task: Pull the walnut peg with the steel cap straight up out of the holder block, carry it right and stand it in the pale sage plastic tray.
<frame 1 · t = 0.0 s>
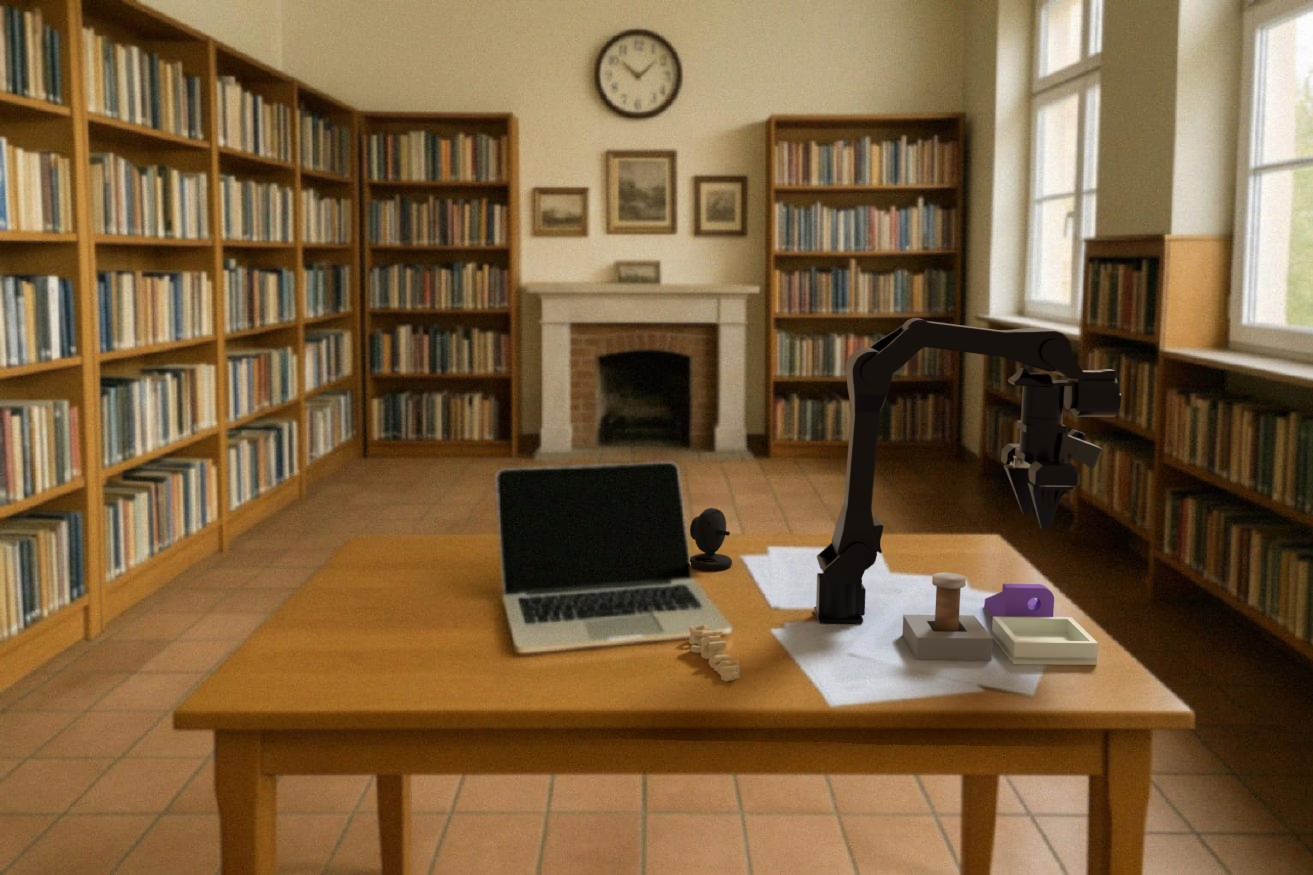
hand: (1035, 522, 179), 15 cm above the table, tool pointing down, fingers open, 9 cm apart
peg: (947, 612, 168), in the holder
webcam: (710, 566, 210), on the table
decorative script: (714, 663, 163), on the table
tray: (1042, 650, 168), on the table
holder: (945, 647, 169), on the table
bracket: (1017, 622, 182), on the table
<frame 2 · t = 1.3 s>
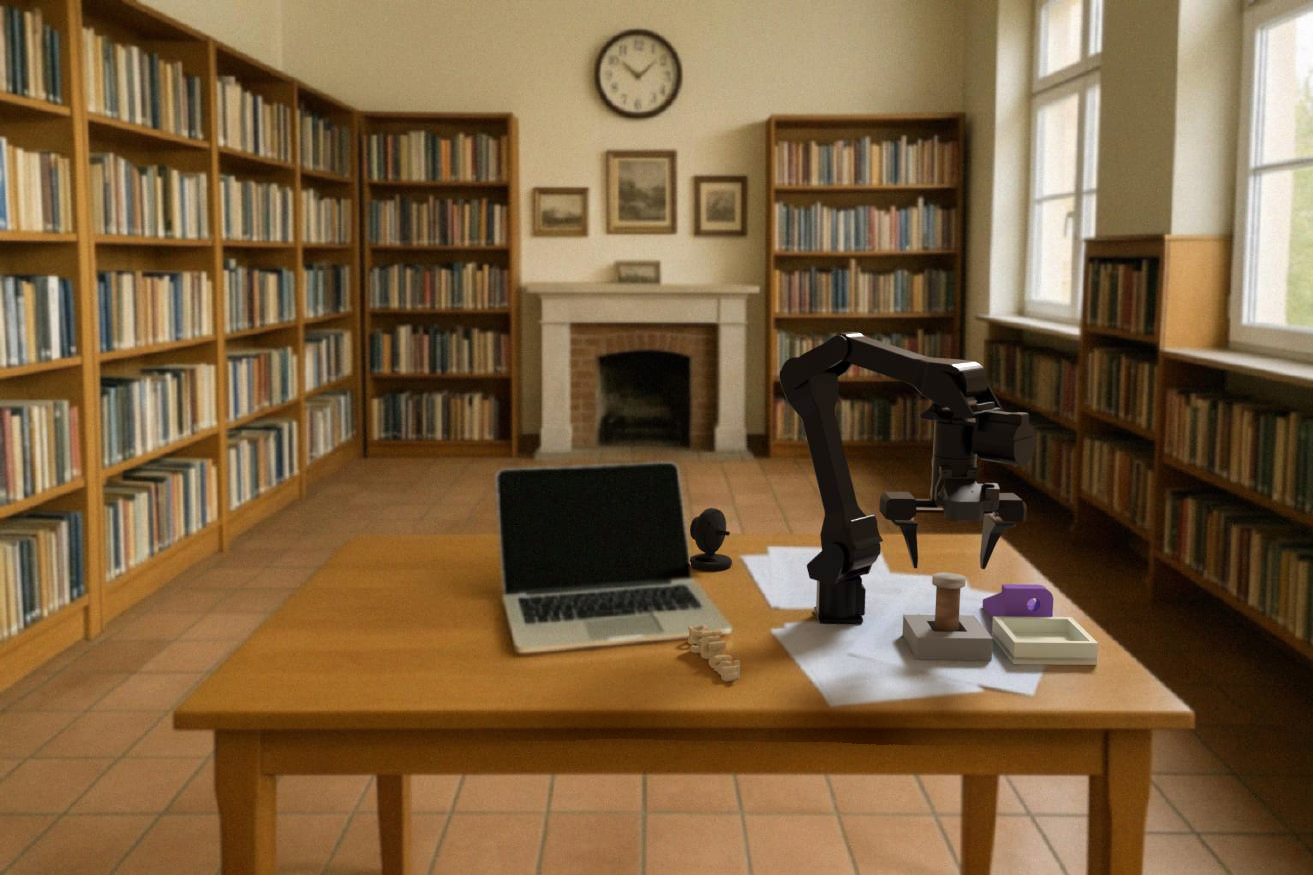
hand: (948, 568, 167), 11 cm above the table, tool pointing down, fingers open, 9 cm apart
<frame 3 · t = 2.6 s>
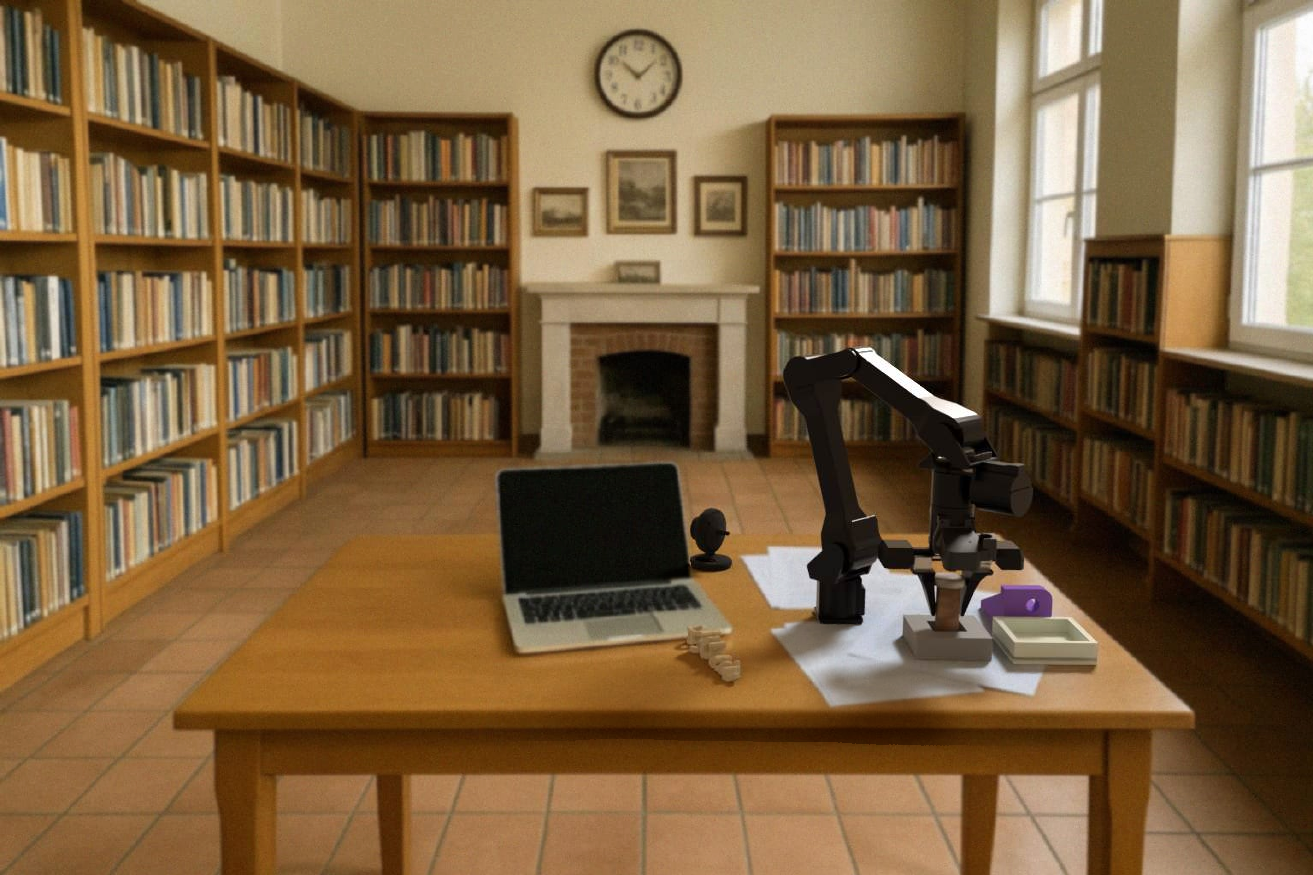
hand: (947, 615, 168), 5 cm above the table, tool pointing down, fingers closed on peg, 4 cm apart
peg: (947, 612, 168), in the holder, touching gripper
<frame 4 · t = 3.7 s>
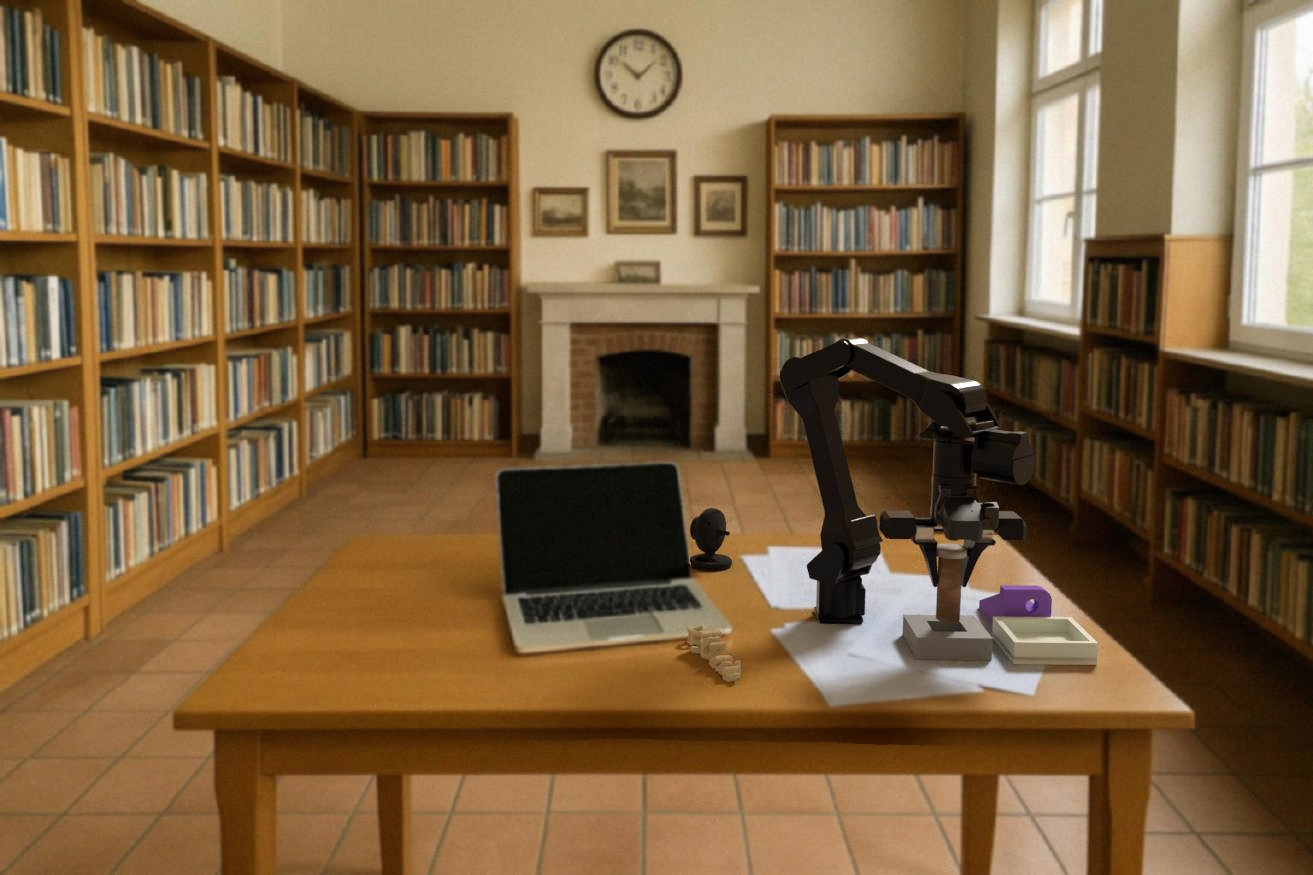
hand: (949, 586, 167), 9 cm above the table, tool pointing down, fingers closed on peg, 4 cm apart
peg: (949, 583, 167), point 9 cm above the table, touching gripper
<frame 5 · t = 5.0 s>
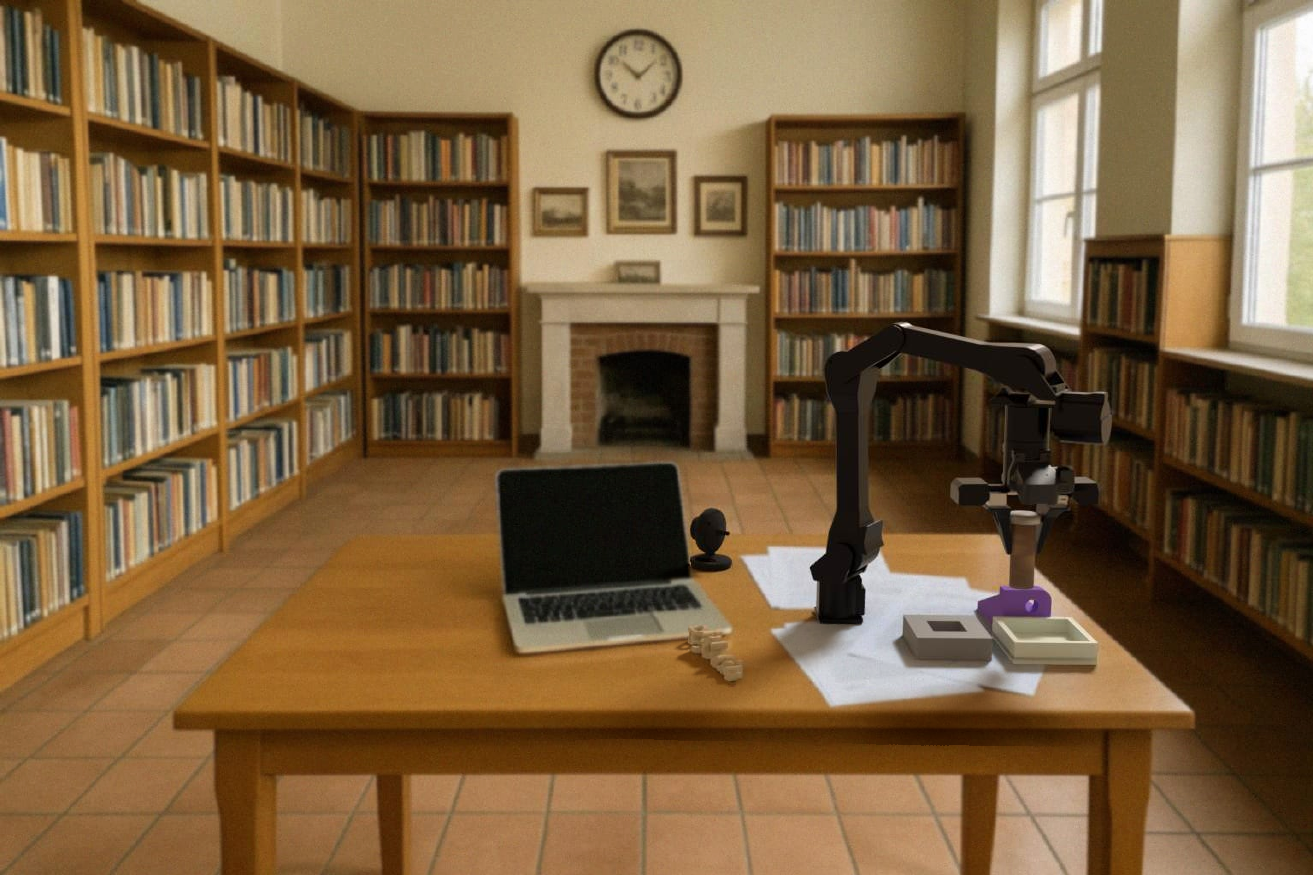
hand: (1022, 553, 165), 14 cm above the table, tool pointing down, fingers closed on peg, 4 cm apart
peg: (1022, 550, 165), point 14 cm above the table, touching gripper
when the fingers open (6 cm above the table, at t = 7.1 s): peg stays where it is, resting on tray.
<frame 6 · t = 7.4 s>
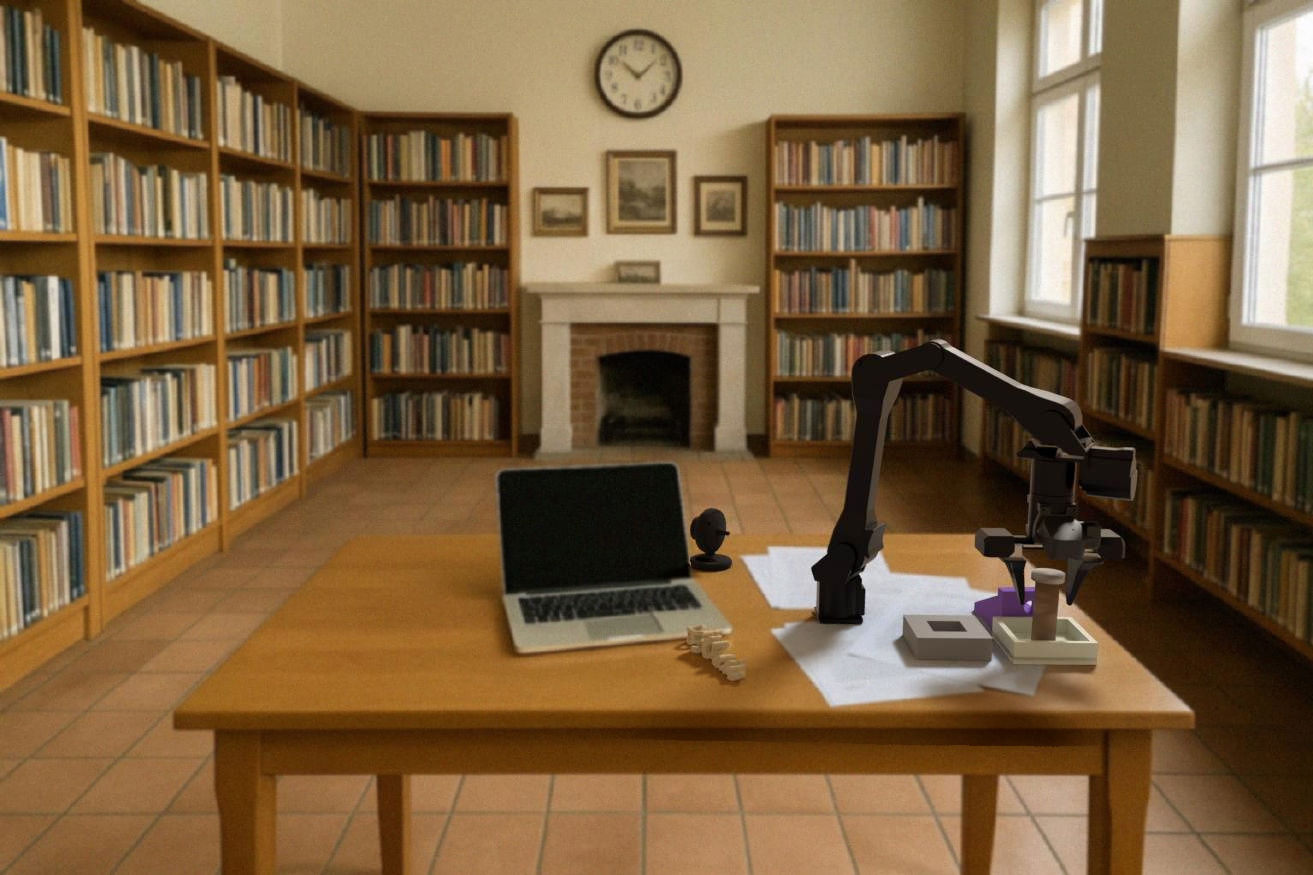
hand: (1045, 604, 167), 6 cm above the table, tool pointing down, fingers open, 6 cm apart
peg: (1045, 608, 167), in the tray, point 6 cm above the table
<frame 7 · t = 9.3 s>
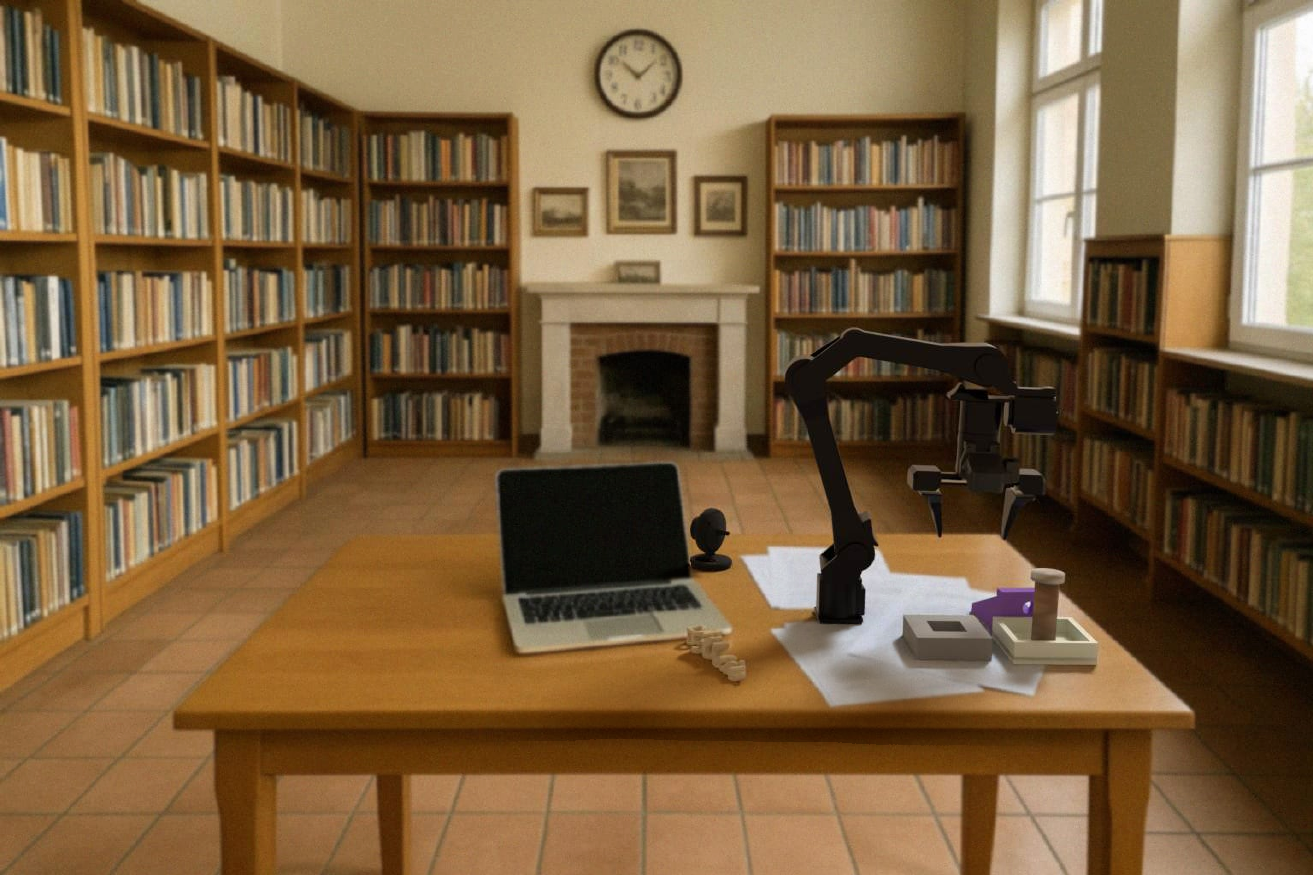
hand: (971, 538, 178), 13 cm above the table, tool pointing down, fingers open, 9 cm apart
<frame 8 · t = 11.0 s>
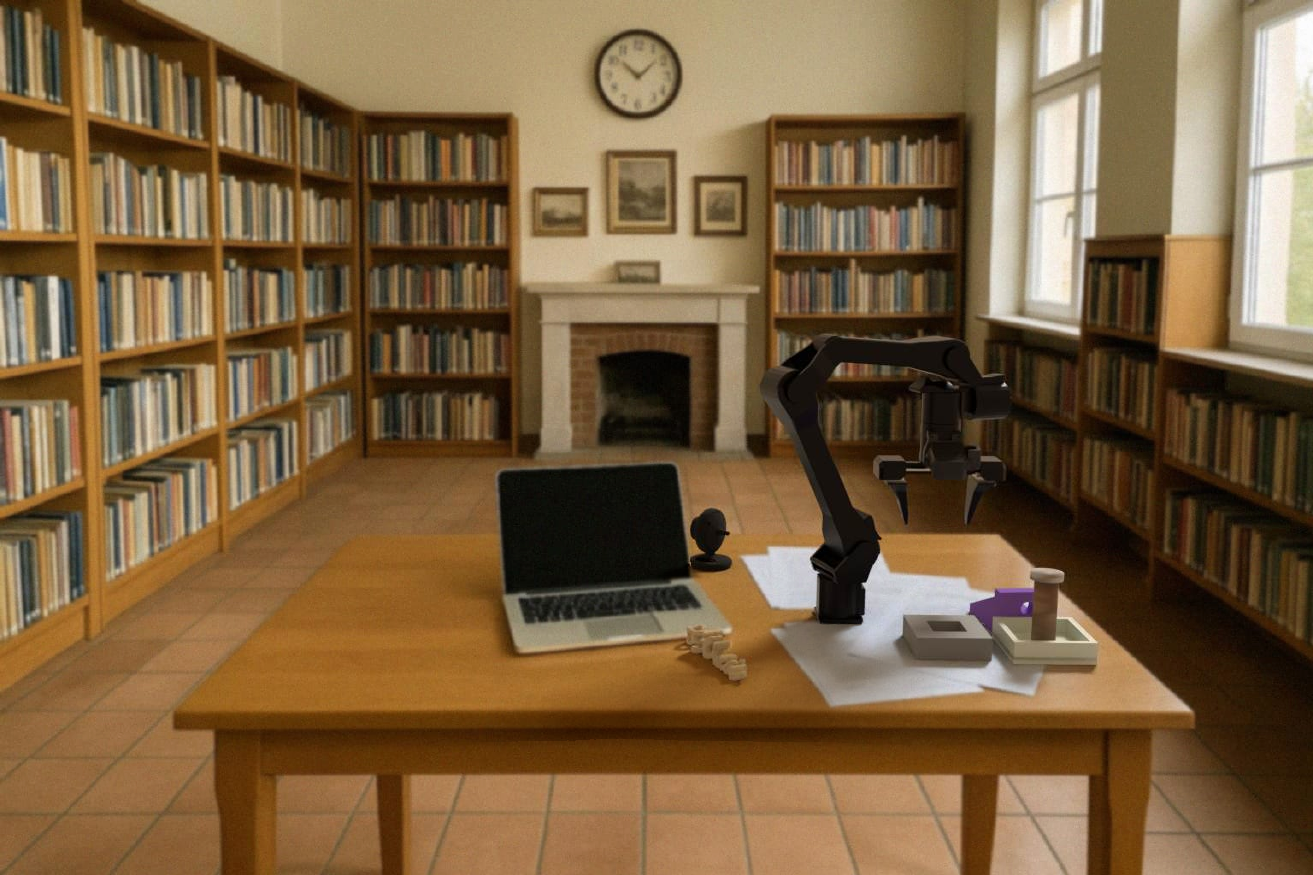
hand: (936, 524, 184), 13 cm above the table, tool pointing down, fingers open, 9 cm apart
at the end: peg 0.1 cm off-centre on the tray, point 6.0 cm above the tray's base; peg tilted 1°; the gripper is holding nothing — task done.
